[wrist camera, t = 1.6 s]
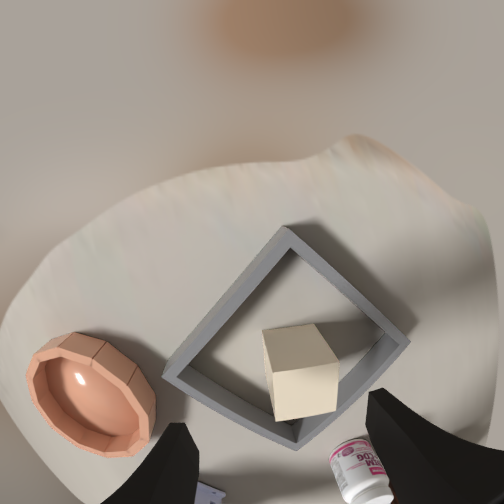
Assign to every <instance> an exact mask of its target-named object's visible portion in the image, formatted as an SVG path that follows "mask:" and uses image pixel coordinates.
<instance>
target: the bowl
mask: <svg viewBox="0 0 504 504" xmlns="http://www.w3.org/2000/svg"><path fill="white" fill-rule="evenodd" d="M26 379H27V383H28V387H29V391H30V395H31V398H32V401H33V403H34V405H35V406H36V408H37V409H38V410H39V412H40V413H41V415H42V416H43V417H44V419H45V420H46V421H47V423H48V424H49V425H50V427H52V429H54V430H55V431H56V432H57V433H59V434H60V435H61V436H63V437H64V438H65V439H67V440H68V441H69V442H71V443H72V444H74V445H75V446H76V447H78V448H80V449H83V450H86V451H89V452H91V453H94V454H97V455H100V456H103V457H106V458H113V457H129V456H134V455H135V454H136V453H137V452H139V451H140V450H141V449H142V448H143V447H144V446H145V445H146V444H148V443H149V441H150V437H151V434H152V431H153V427H154V424H155V421H156V396H155V393H154V391H153V390H152V388H151V387H150V385H149V383H148V382H147V380H146V378H145V377H144V375H143V373H142V372H141V370H140V368H139V366H137V364H135V363H134V362H133V361H131V360H130V359H129V358H127V357H126V356H125V355H123V354H122V353H121V352H120V351H118V350H117V349H116V348H115V347H113V346H112V345H111V344H110V343H108V342H107V343H106V341H104V340H100V339H97V338H93V337H90V336H86V335H83V334H79V333H76V332H72V333H69V334H66V335H63V336H60V337H57V338H54V339H51V340H50V341H49V342H47V343H46V344H45V345H44V346H43V347H42V348H40V349H39V350H38V351H37V352H36V353H35V354H34V355H33V357H32V359H31V362H30V365H29V367H28V370H27V372H26Z"/></svg>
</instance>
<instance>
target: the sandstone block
mask: <svg viewBox="0 0 504 504" xmlns="http://www.w3.org/2000/svg"><path fill="white" fill-rule="evenodd" d="M262 338H263V350H264V362H265V374H266V379H267V384H268V388H269V393H270V398H271V402H272V407H273V412H274V416H275V421H276V422H277V421H284V420H291V419H297V418H303V417H308V416H314V415H319V414H324V413H329V412H333V411H336V405H337V393H338V380H339V363H340V362H339V360H338V359H337V357H336V356H335V354H334V353H333V351H332V350H331V348H330V347H329V345H328V344H327V342H326V341H325V340H324V338H323V337H322V335H321V334H320V332H319V331H318V329H317V328H316V326H315V325H314V324H308V325H301V326H293V327H286V328H278V329H269V330H262Z"/></svg>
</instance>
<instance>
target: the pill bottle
mask: <svg viewBox="0 0 504 504" xmlns="http://www.w3.org/2000/svg"><path fill="white" fill-rule="evenodd" d="M329 462H330V465H331V468H332V470H333V473H334V476H335V478H336V481H337V484H338V486H339V489H340V492H341V494H342V497H343V499H344V500H345V501H346V502H347V503H349V504H390V503H391V502H392V500H393V499H394V496H393V494H392V491H391V489H390V488H389V486H388V484H389V478H388V476H387V474H386V473H385V471H384V469H383V467H382V465H381V464H380V462H379V460H378V458H377V456H376V455H375V453H374V451H373V449H372V447H371V446H370V444H369V443H368V442H367V441H366V440H363V439H354V440H350V441H347V442H345V443H343V444H341V445H339V446H338V447H337V448H335V449H334V451H333V452H332V453H331V455H330V458H329Z"/></svg>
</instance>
